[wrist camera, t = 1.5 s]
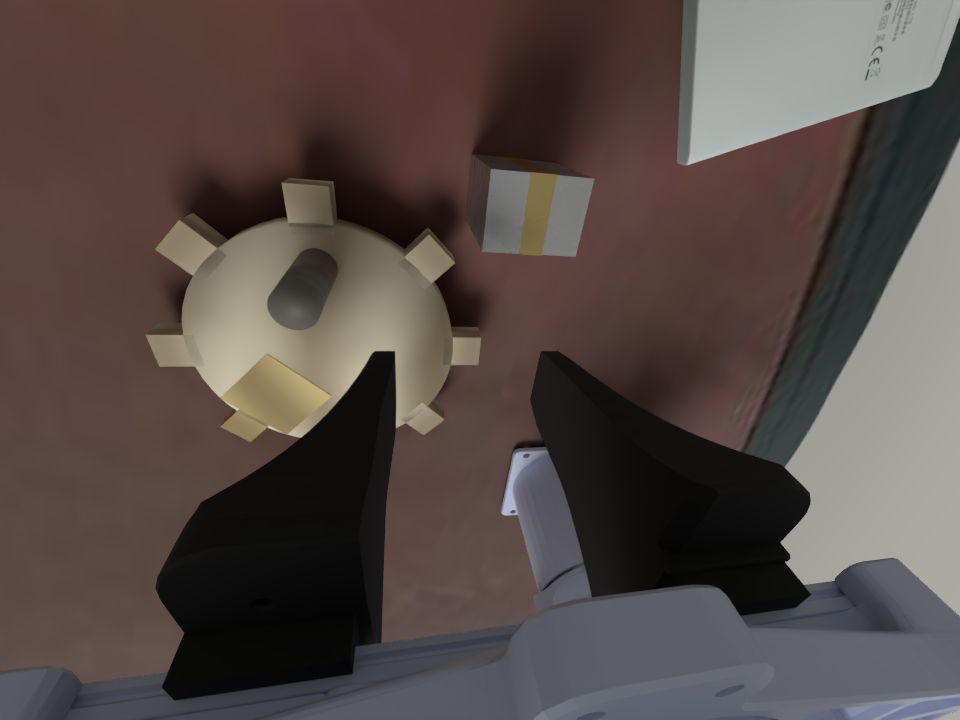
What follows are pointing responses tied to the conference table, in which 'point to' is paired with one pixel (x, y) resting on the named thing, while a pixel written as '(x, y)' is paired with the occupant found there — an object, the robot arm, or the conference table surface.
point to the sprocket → (310, 315)
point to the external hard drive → (799, 64)
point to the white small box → (526, 205)
